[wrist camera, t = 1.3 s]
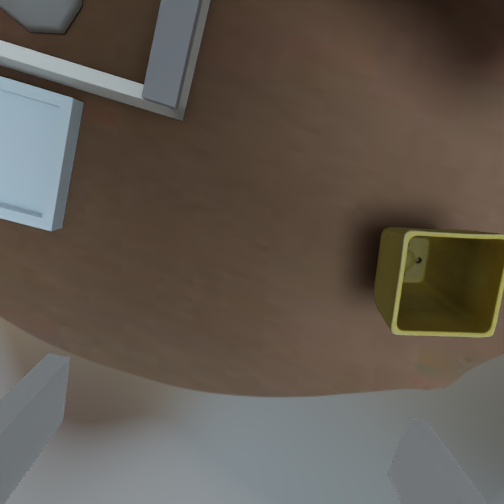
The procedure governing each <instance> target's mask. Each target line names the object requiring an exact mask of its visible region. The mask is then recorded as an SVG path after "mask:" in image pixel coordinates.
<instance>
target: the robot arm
mask: <svg viewBox="0 0 504 504" xmlns="http://www.w3.org/2000/svg"><path fill="white" fill-rule="evenodd" d="M69 362H70V357H67V356H61V355H56V354H50V353H48V354H47V355H46V356H45V357H44V358H43V359H42V360H41V361H40V362H39V363H38V364H37V365H36V366H35V367H34V368H33V369H32V370H31V371H30V372H29V373H28V374H27V375H26V376H25V377H24V378H22V379H21V380H20V381H19V382H18V383H17V384H16V385H15V386H14V387H13V388H12V389H11V390H10V391H9V392H8V393H7V394H6V395H5V396H4V397H3V398H2V399H1V400H0V504H4V503H5V502H6V501H7V499H8V498H9V496H10V495H11V493H12V492H13V490H14V489H15V488H16V486H17V485H18V483H19V482H20V481H21V479H22V478H23V476H24V475H25V474H26V472H27V471H28V469H29V468H30V467H31V465H32V463H33V462H34V461H35V459H36V458H37V457H38V455H39V454H40V452H41V451H42V450H43V448H44V447H45V445H46V444H47V442H48V441H49V440H50V438H51V437H52V435H53V434H54V433H55V431H56V430H57V428H58V427H59V425H60V424H61V422H62V421H63V415H64V406H65V397H66V388H67V380H68V371H69ZM388 476H389V478H390V481H391V483H392V484H393V487H394V489H395V491H396V493H397V495H398V497H399V499H400V502H401V504H487V502H486V501H485V499H484V498H483V497H482V495H481V494H480V493H479V491H478V490H477V489H476V487H475V486H474V484H473V483H472V482H471V480H470V479H469V478H468V476H467V475H466V473H465V472H464V471H463V469H462V468H461V467H460V465H459V464H458V463H457V461H456V460H455V459H454V457H453V456H452V454H451V453H450V452H449V451H448V449H447V448H446V446H445V445H444V443H443V442H442V441H441V439H440V438H439V437H438V436H437V434H436V432H435V431H434V430H433V428H432V427H431V426H430V424H429V423H428V422H427V421H424V420H419V419H414V418H409V419H408V421H407V424H406V427H405V429H404V432H403V435H402V437H401V440H400V442H399V445H398V448H397V451H396V453H395V456H394V458H393V461H392V464H391V466H390V469H389V471H388Z"/></svg>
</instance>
